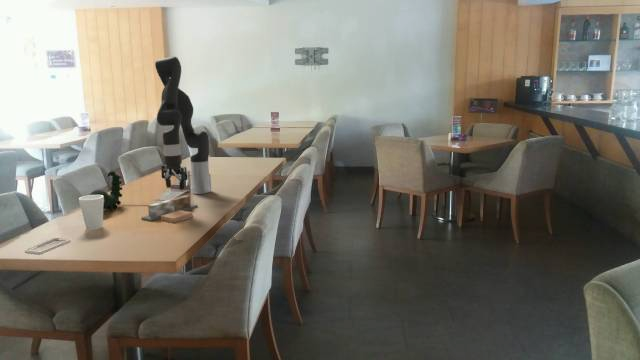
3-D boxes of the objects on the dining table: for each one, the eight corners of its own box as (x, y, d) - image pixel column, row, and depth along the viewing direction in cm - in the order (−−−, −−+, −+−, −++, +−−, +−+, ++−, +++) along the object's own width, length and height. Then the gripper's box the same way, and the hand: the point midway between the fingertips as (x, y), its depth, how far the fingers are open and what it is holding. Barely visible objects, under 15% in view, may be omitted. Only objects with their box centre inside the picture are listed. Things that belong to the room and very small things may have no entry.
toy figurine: (110, 207, 254) (80, 216, 229) (108, 169, 252) (77, 174, 227) (128, 208, 252) (99, 217, 228) (126, 169, 250) (97, 175, 226)
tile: (179, 210, 233) (160, 215, 224) (192, 212, 228) (173, 218, 219) (180, 215, 233) (161, 221, 224) (192, 217, 229) (173, 223, 220)
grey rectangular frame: (40, 255, 183) (71, 242, 197) (40, 251, 183) (71, 238, 197) (24, 253, 185) (55, 240, 199) (23, 250, 185) (55, 237, 199)
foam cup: (111, 225, 217) (108, 195, 215) (95, 231, 209) (92, 200, 206) (93, 223, 220) (90, 194, 218) (77, 229, 212) (73, 199, 209)
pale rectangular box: (185, 205, 245) (185, 195, 244) (190, 206, 244) (190, 195, 243) (148, 216, 227) (148, 205, 226) (153, 217, 225) (152, 206, 224)
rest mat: (188, 205, 249) (188, 203, 249) (197, 207, 246) (197, 205, 245) (141, 219, 226) (141, 217, 225) (150, 221, 222) (150, 219, 222)
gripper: (189, 153, 232) (192, 188, 236) (167, 151, 239) (170, 185, 243) (177, 156, 226) (180, 191, 229) (155, 154, 233) (158, 188, 237)
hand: (175, 188), depth 236 cm, fingers open, 8 cm apart
